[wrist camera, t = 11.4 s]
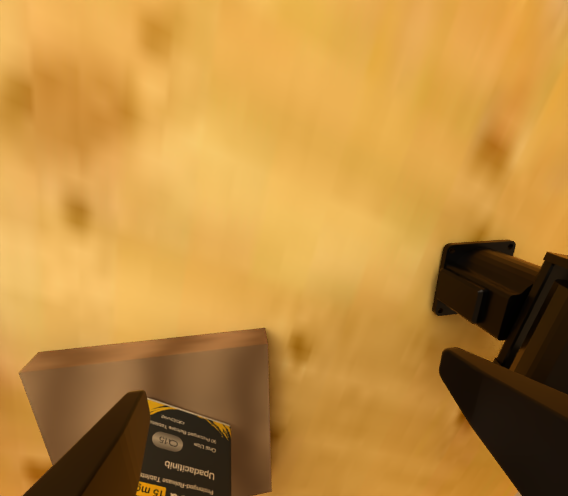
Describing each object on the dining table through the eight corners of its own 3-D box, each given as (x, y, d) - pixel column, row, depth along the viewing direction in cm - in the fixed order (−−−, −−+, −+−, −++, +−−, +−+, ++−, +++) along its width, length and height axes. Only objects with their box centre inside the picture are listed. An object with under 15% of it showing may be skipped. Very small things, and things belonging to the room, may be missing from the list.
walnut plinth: (264, 328, 23) (267, 343, 21) (268, 468, 28) (271, 491, 26) (38, 352, 20) (18, 372, 18) (88, 503, 25) (77, 531, 23)
